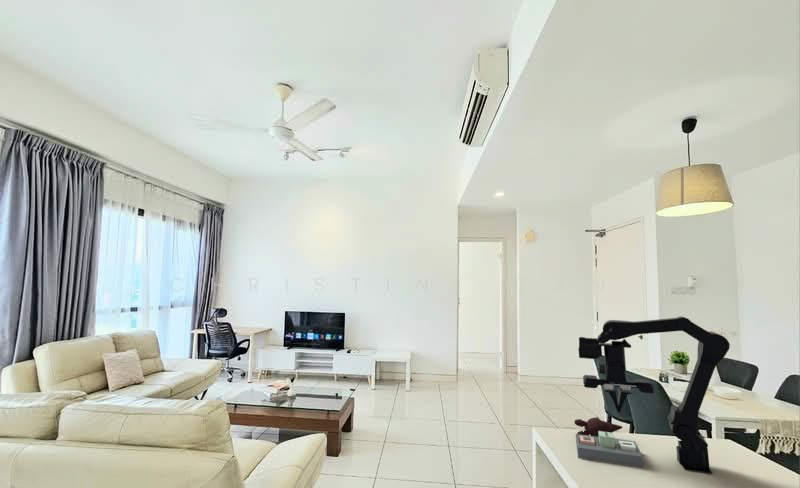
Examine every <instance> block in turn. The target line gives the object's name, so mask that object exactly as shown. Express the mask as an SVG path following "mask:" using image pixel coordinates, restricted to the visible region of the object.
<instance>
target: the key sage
mask: <svg viewBox="0 0 800 488" xmlns="http://www.w3.org/2000/svg"><path fill="white" fill-rule="evenodd" d="M598 435H599V445H600V446H601V447H608V448H615V439H616V438H615V435H614V432H612V433H610V432H602V431H598Z"/></svg>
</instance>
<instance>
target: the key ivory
mask: <svg viewBox="0 0 800 488" xmlns="http://www.w3.org/2000/svg"><path fill="white" fill-rule="evenodd" d="M619 448H620V449H623V450H630V451H636V447H635V445H634V443H633V442H626V441H619Z"/></svg>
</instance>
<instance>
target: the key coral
mask: <svg viewBox="0 0 800 488" xmlns="http://www.w3.org/2000/svg"><path fill="white" fill-rule="evenodd" d="M580 444H587V445H594V446H595V442H594V438H593V437H587V436H580Z"/></svg>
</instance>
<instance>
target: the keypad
mask: <svg viewBox="0 0 800 488" xmlns="http://www.w3.org/2000/svg"><path fill="white" fill-rule="evenodd" d="M580 436H587V437H593V438H594V442H595V446H594V445H587V444H580ZM619 441H626V442H633V443H634V445H635V447H636V451H630V450H623V449H620V448H619ZM575 442H576V443H575V445H576V451H577V458H578V459H582V460H583V459H585V460H592V461H598V462H603V463H612V464H617V465H622V466H623V465H624V466H631V467H636V466H637V468H638V467H639V468H643V467H644V466H645V465H644V456H643V454H642V452H641V451H640V448H639V445H638V444H637V443H636V441H635V440H634V441H632V440H625V439H617V438H615V448H608V447H601V446H600V445H599V437H596V436H591V435H581V434H577V433H575ZM644 468H645V467H644Z"/></svg>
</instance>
